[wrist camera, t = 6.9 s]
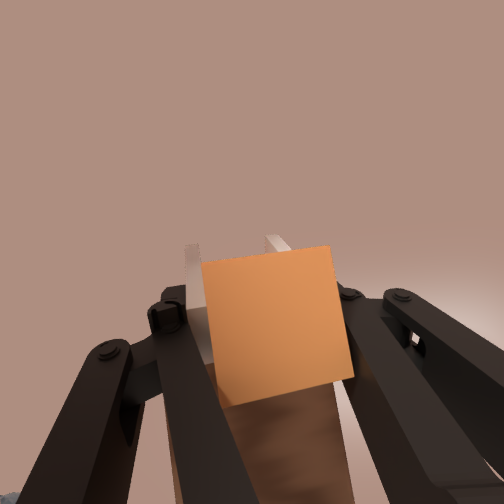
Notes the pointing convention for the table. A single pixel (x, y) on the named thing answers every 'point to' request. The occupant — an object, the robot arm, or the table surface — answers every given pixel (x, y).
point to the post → (288, 446)
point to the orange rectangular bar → (275, 324)
